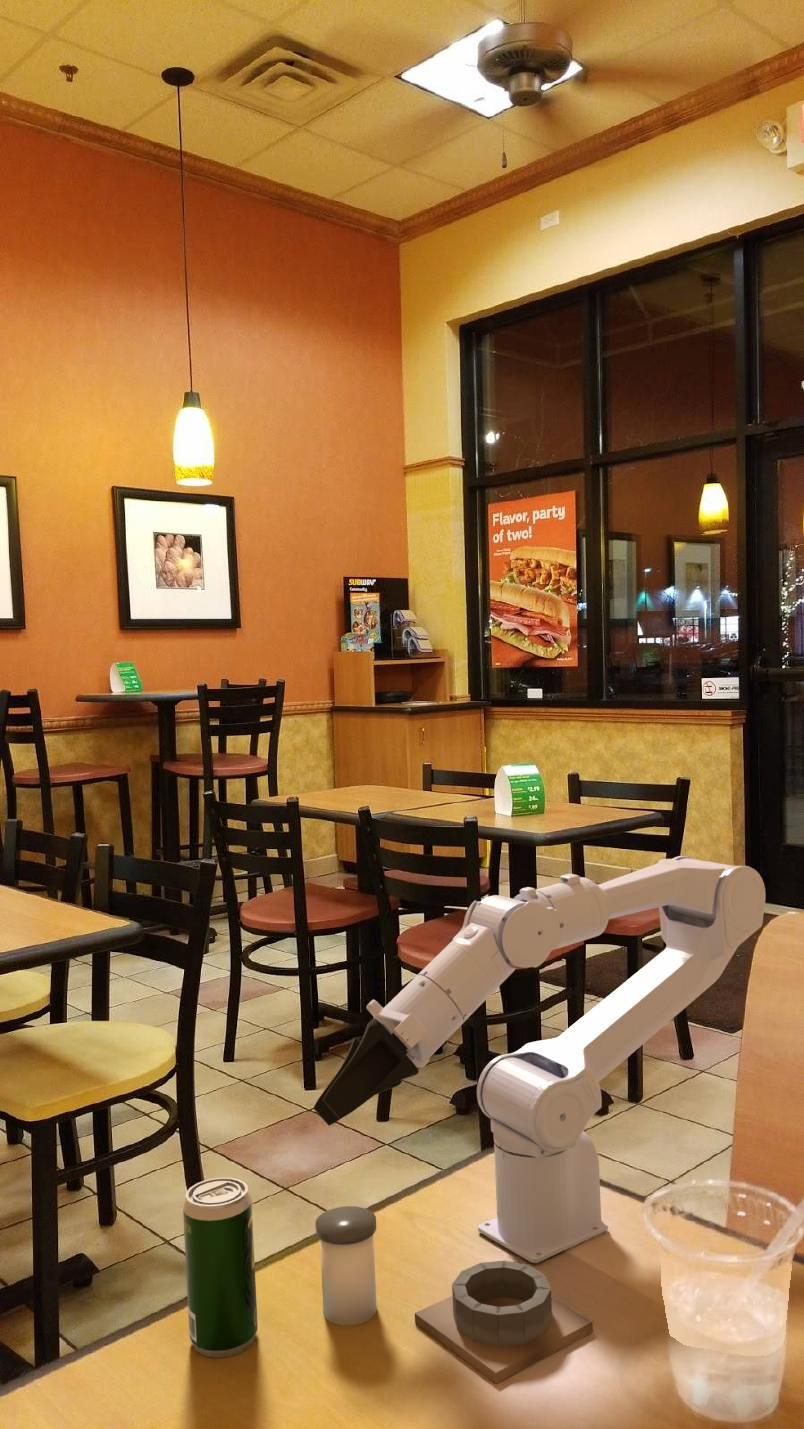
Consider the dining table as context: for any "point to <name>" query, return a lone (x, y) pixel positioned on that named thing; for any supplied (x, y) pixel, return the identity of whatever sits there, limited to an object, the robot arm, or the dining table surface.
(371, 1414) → the dining table surface
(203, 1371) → the dining table surface
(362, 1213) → the grey-capped cream cylinder
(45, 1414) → the dining table surface
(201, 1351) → the green guarana soda can
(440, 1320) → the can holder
